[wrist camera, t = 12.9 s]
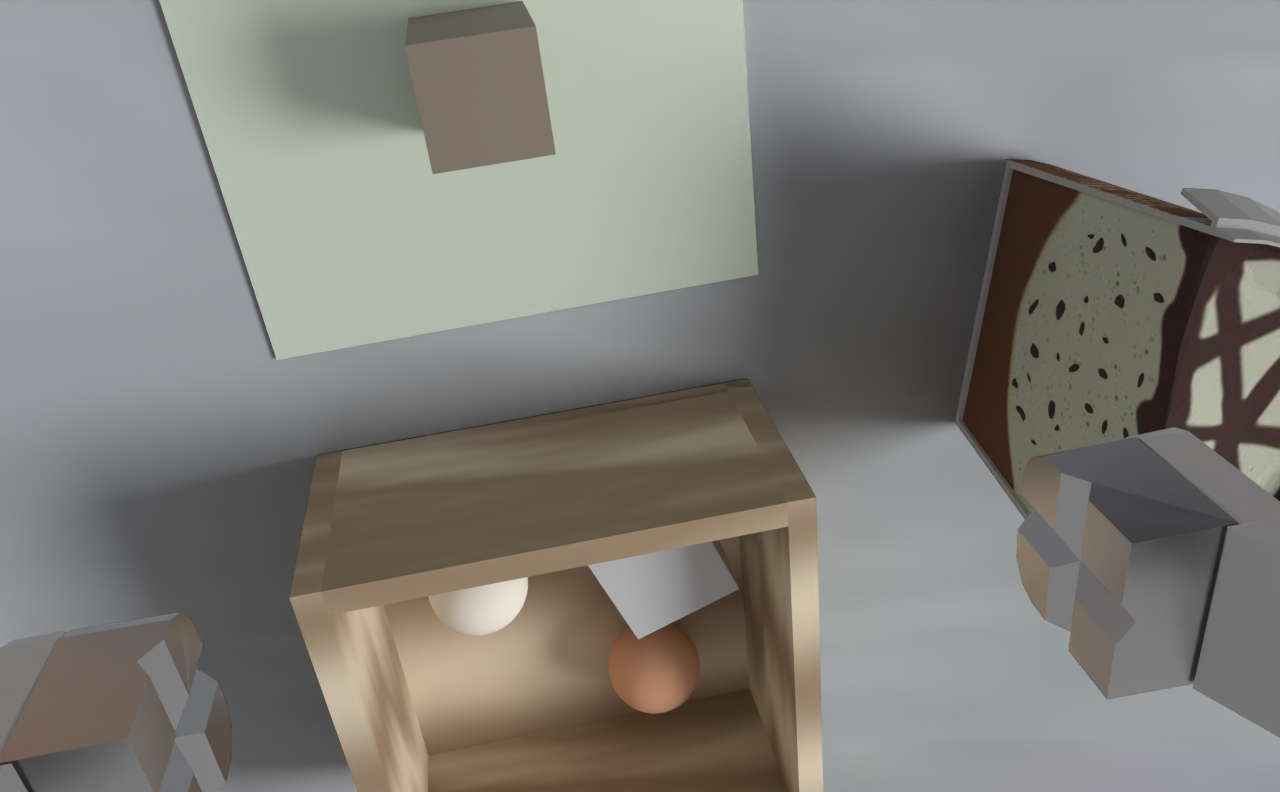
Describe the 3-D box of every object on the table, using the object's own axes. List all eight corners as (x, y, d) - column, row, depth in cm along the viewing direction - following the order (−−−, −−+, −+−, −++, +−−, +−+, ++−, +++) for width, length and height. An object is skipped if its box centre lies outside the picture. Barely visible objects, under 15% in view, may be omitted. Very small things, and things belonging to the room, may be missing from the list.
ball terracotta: (692, 658, 38) (712, 722, 36) (608, 676, 38) (621, 742, 35) (685, 592, 37) (705, 654, 34) (597, 610, 36) (610, 673, 34)
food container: (1104, 447, 38) (1302, 628, 29) (947, 458, 37) (1105, 649, 28) (1199, 107, 32) (1483, 207, 23) (1016, 110, 31) (1242, 215, 22)
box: (766, 688, 41) (824, 837, 34) (411, 762, 39) (406, 931, 33) (748, 378, 34) (816, 496, 28) (317, 455, 32) (289, 597, 26)
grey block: (712, 523, 35) (739, 588, 32) (620, 569, 36) (638, 639, 33) (669, 447, 34) (692, 509, 31) (572, 497, 34) (586, 563, 31)
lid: (751, 265, 33) (797, 328, 28) (280, 348, 31) (256, 427, 27) (717, -291, 25) (773, -315, 21) (98, -216, 24) (27, -225, 20)
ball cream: (530, 582, 35) (539, 645, 33) (438, 600, 35) (438, 665, 32) (516, 506, 34) (522, 566, 31) (418, 524, 33) (417, 586, 31)
